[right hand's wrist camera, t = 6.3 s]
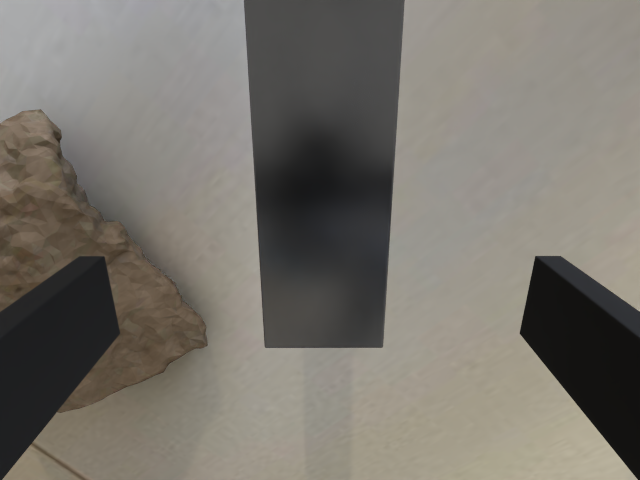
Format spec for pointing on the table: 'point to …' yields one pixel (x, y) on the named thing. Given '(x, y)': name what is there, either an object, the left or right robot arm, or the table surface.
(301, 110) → the bar
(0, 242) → the stone
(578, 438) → the table surface
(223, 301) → the table surface
